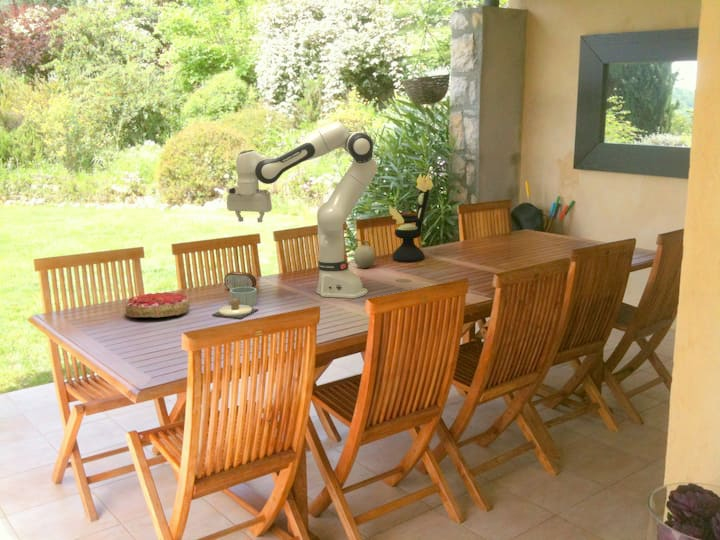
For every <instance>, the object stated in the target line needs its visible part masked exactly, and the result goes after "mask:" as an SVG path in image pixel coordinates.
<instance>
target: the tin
mask: <svg viewBox="0 0 720 540" xmlns="http://www.w3.org/2000/svg"><path fill="white" fill-rule="evenodd" d="M223 281H224V286H225V287H226V288H227V289H228V290H229V291H230V290H231V289H233V288H237V287H254V288H256V287H257V279H256V277H255V276H254V275H253V274H252V273H251V272H244V271H243V272H242V271H230V272H228V273H227V274H225V276H224V277H223Z"/></svg>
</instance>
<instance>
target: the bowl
mask: <svg viewBox="0 0 720 540" xmlns="http://www.w3.org/2000/svg"><path fill="white" fill-rule="evenodd" d="M257 289H258V288H256V287H255V288H254V287H237V288H233V289H231V290H229V303H230V305H231V299H232V298H239V305H248V306H251V307H254V306H257V305H258V292H257V291H258V290H257ZM256 304H257V305H256Z"/></svg>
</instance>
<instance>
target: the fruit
mask: <svg viewBox="0 0 720 540" xmlns="http://www.w3.org/2000/svg"><path fill="white" fill-rule="evenodd" d="M351 240H352V241H357V242H358V241H359V242H363V244H360V245H358V246H357V247H356V248H355V250H354V253H353V260H354V263H355V264H356V266H358V268H361V269H368V268H370V267H372V266H373V265H374V263H375V260H376V253H375V251H374V248H373V247H371V243H370V242H369V241H367V240H365V239H354V238H352V239H351ZM366 243H367V244H368V245H367V244H366Z"/></svg>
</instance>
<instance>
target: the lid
mask: <svg viewBox="0 0 720 540" xmlns="http://www.w3.org/2000/svg"><path fill="white" fill-rule="evenodd" d="M252 307H253V306H248V305H239V298H232V299H231V305H224V306H222V307H220V308H219V309H218V312H219V314H221V315H224V316H241V315H246V314H249V313H251V312H252V309H253V308H252Z"/></svg>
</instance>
